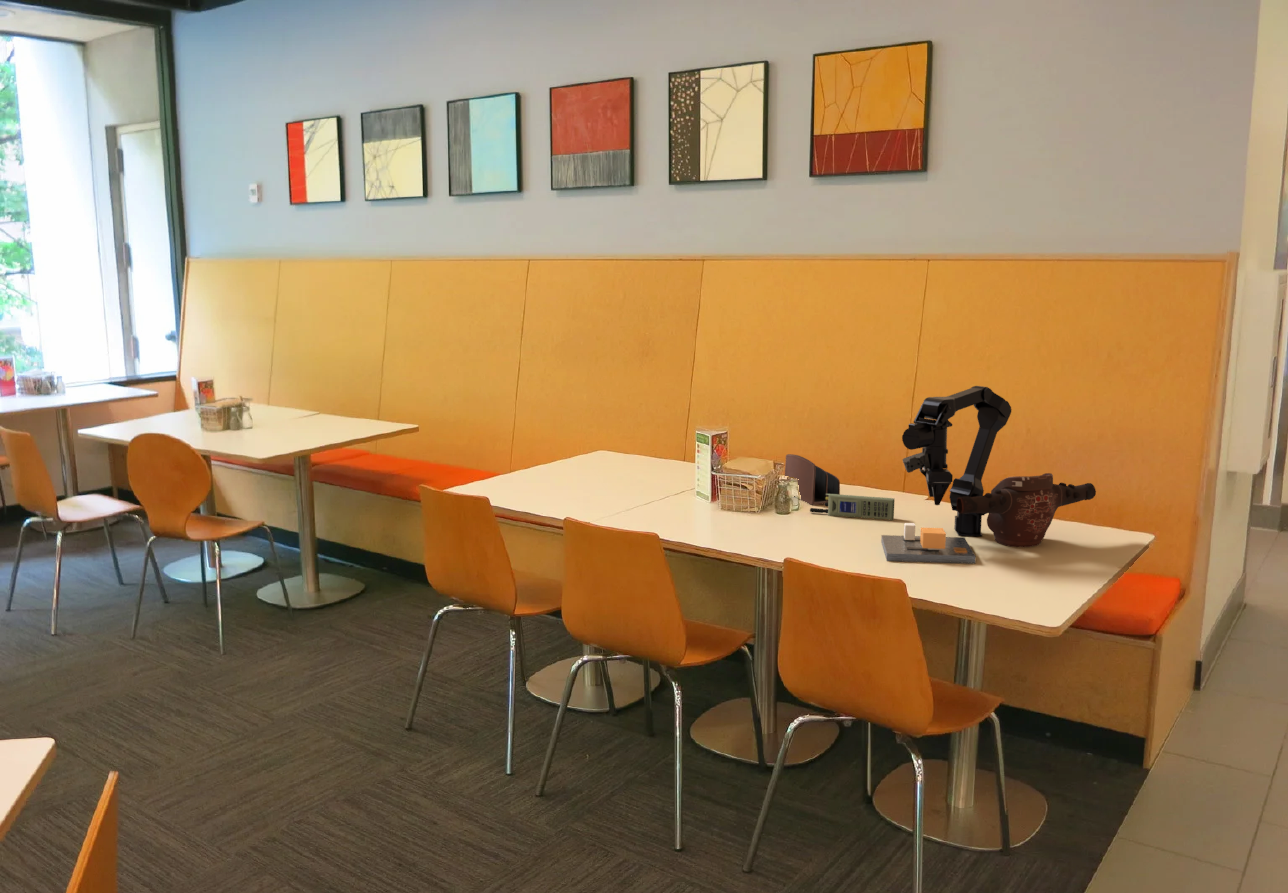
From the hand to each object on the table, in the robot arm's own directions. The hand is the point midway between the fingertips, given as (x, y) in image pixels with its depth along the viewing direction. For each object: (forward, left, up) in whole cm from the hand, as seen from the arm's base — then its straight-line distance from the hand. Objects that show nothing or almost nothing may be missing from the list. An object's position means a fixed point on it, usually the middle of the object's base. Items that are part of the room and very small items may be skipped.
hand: (934, 500), depth 285 cm
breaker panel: (+3, +10, -12) cm, 16 cm away
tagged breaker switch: (+2, +14, -9) cm, 17 cm away
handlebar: (-24, -1, -12) cm, 27 cm away
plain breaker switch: (+7, +5, -9) cm, 13 cm away
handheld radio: (+20, -27, -12) cm, 36 cm away
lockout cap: (+2, +14, -9) cm, 17 cm away
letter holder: (+32, -51, -12) cm, 61 cm away
